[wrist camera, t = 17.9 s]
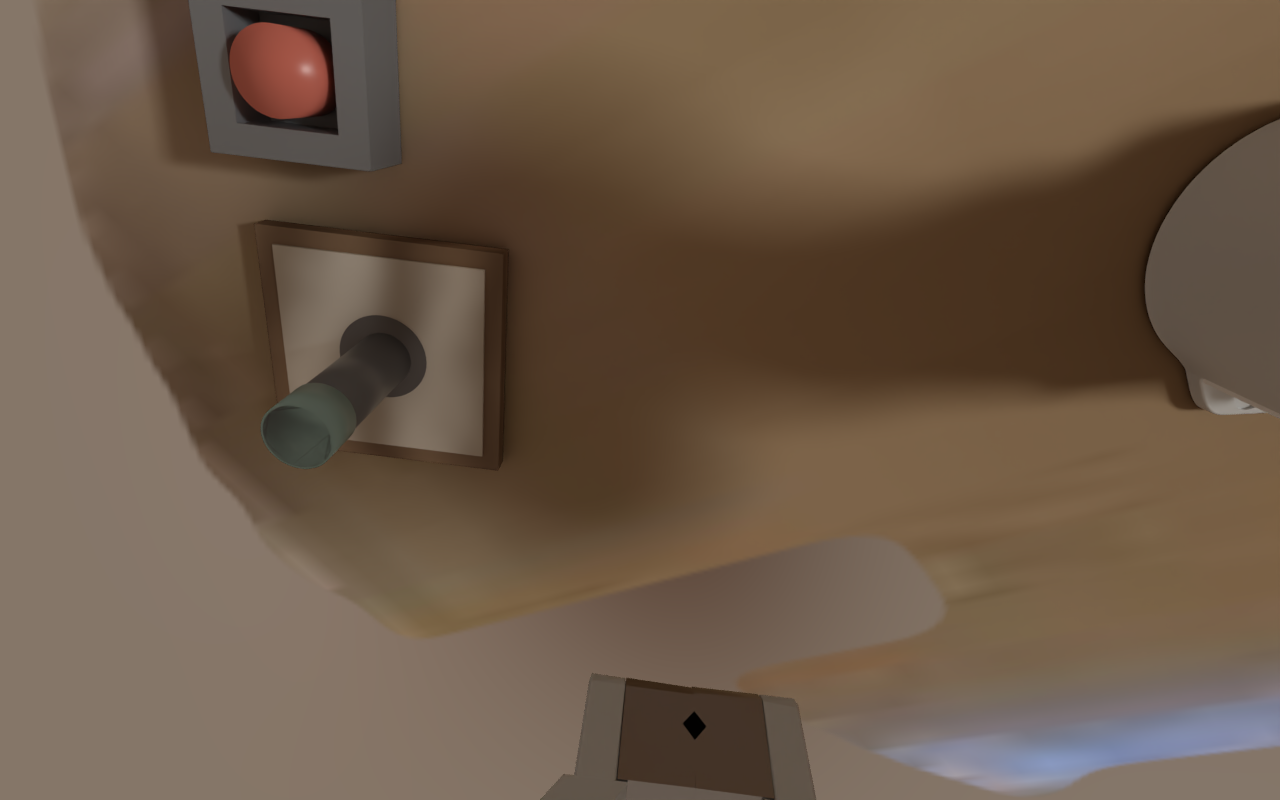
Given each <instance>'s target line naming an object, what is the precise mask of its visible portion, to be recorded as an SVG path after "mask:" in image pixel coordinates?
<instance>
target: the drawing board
mask: <svg viewBox="0 0 1280 800" xmlns="http://www.w3.org/2000/svg"><path fill="white" fill-rule="evenodd" d="M254 227H255V235H256V243H257V250H258V258H259V266H260V274H261V281H262V289H263V297H264V305H265V312H266V320H267V328H268V336H269V343H270V351H271V359H272V367H273V374H274V382H275V390H276V398H277V403H279V402H280V401H281V400H283V399H284V398H285V397H286V396H288V395H289V394H290V393H292V392H293V391H294V390H295V389H297V388H298V387H300V386H302V385H304V384H307V383H308V382H309V381H310V380H312V379H313V378H314V377H316V376H317V375H318V374H319V373H321V372H322V371H323V370H324V369H326V368H327V367H328V366H330V365H331V364H332V363H333V362H335V361H336V360H337V359H339V358H340V357H341V356H342V355H344V354H345V353H346V352H347V351H349V350H350V349H351V348H353V347H354V346H355V345H356V344H358V343H359V342H360V341H362V340H363V339H364V338H365V337H367V336H369V335H371V334H375V333H384V334H388V335H391V336H393V337H395V338H397V339H398V340H399V341H401V342H402V343H403V344H404V346H405V347H406V348H407V350H408V352H409V355H410V359H411V366H410V370H409V372H408V374H407V375H406V377H405V378H404V379H403V380H402V381H401V382H400V383H399V384H398V385H397V386H396V387H395V388H394V389H393V390H392V391H391V392H390V393H389V394H388V395H387V396H386V397H385V398H384V399H383V400H382V401H381V402H380V404H379V405H378V406H377V407H376V408H375V409H374V410H373V411H372V412H371V413H370V414H369V415H368V416H367V417H366V418H365V419H364V420H363V421H362V422H361V423H360V424H359V425H358V426H357V427H356V428H355V430H354V432H353V434H352V435H351V436H350V438H349V439H348V440H347V441H346V442H345V443H344V444H343V445H342V446H341V447H340V448H339V449H338V451H346V452H354V453H362V454H370V455H378V456H386V457H394V458H402V459H410V460H418V461H426V462H434V463H442V464H450V465H458V466H466V467H474V468H482V469H490V470H499V468H500V466H501V464H502V462H503V430H504V393H505V356H506V319H507V282H508V249H500V248H492V247H484V246H476V245H467V244H459V243H451V242H443V241H435V240H426V239H418V238H410V237H402V236H394V235H385V234H377V233H369V232H361V231H353V230H345V229H336V228H328V227H320V226H312V225H304V224H295V223H287V222H279V221H271V220H264V221H261V222H258V223H255V224H254Z"/></svg>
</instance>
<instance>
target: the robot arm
mask: <svg viewBox="0 0 1280 800" xmlns="http://www.w3.org/2000/svg"><path fill="white" fill-rule="evenodd" d="M1145 300H1146V306H1147V311H1148V315H1149V318H1150V321H1151V323H1152V326H1153V328H1154V330H1155V332H1156V334H1157V335H1158V337H1159V338H1160V340H1161V341H1162V342H1163V344H1164V345H1165V346H1166V347H1167V348H1168V349H1169V350H1170V351H1171V352H1172V353H1173V354H1174V356H1175V357H1176V358H1177V359H1178V360H1179V361H1180V362H1181V363H1182V365H1183V366H1184V368H1185V370H1186V374H1187V380H1188V385H1189V389H1190V393H1191V396H1192V398H1193V401H1194V402H1195V404H1196V405H1197V406H1198V407H1200V408H1202V409H1204V410H1207V411H1209V412H1211V413H1214V414H1218V415H1232V414H1252V413H1268V414H1271V415H1273V416H1275V417H1277V418H1279V419H1280V119H1279V120H1276V121H1274V122H1272V123H1270V124H1267V125H1265V126H1264V127H1262V128H1260V129H1258V130H1256V131H1254V132H1252V133H1251V134H1249V135H1247V136H1246V137H1244V138H1242V139H1241V140H1239V141H1238V142H1236V143H1235V144H1233V145H1232V146H1231V147H1229V148H1228V149H1227V150H1225V151H1224V152H1223V153H1221V154H1220V155H1219V156H1218V157H1217V158H1215V159H1214V160H1213V161H1212V162H1211V163H1210V164H1209V165H1207V166H1206V167H1205V168H1204V169H1203V170H1202V171H1201V172H1200V173H1199V174H1198V175H1197V176H1196V177H1195V178H1194V179H1193V181H1192V182H1191V183H1190V184H1189V185H1188V186H1187V187H1186V189H1185V190H1184V191H1183V192H1182V194H1181V195H1180V196H1179V198H1178V199H1177V201H1176V202H1175V203H1174V205H1173V206H1172V208H1171V209H1170V211H1169V213H1168V214H1167V216H1166V218H1165V219H1164V221H1163V223H1162V225H1161V227H1160V229H1159V231H1158V233H1157V236H1156V238H1155V241H1154V243H1153V246H1152V249H1151V252H1150V256H1149V260H1148V264H1147V269H1146V277H1145ZM540 800H816V796H815V790H814V785H813V780H812V775H811V770H810V764H809V760H808V754H807V749H806V744H805V739H804V733H803V728H802V723H801V718H800V713H799V707H798V704H797V703H796V701H795V700H794V699H792V698H783V697H775V696H766V695H758V694H752V693H743V692H734V691H725V690H716V689H707V688H698V687H692V688H691V687H684V686H678V685H671V684H665V683H658V682H651V681H645V680H638V679H632V678H626V682H625V678H621V677H615V676H608V675H601V674H594V673H592V674H591V677H590V681H589V685H588V691H587V698H586V704H585V710H584V717H583V723H582V730H581V736H580V742H579V748H578V755H577V762H576V767H575V773H574V775H567V774H563V776H562V777H561V778H560V779H559V780H558V781H557V782H556V783H555V784H554V785H553V786H552V787H551V788H550V790H549V791H548V792H547V793H546V794H545V795H544V796H543V797H542V798H541V799H540Z"/></svg>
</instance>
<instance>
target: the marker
mask: <svg viewBox="0 0 1280 800" xmlns="http://www.w3.org/2000/svg"><path fill="white" fill-rule="evenodd" d="M410 366H411V359H410V355H409V352H408V350H407V348H406V347H405V346H404V344H403V343H402V342H401V341H399V340H398V339H397V338H395V337H393V336H391V335H388V334H384V333H375V334H371V335H369V336H367V337H365V338H364V339H363V340H362V341H360V342H359V343H358V344H356V345H355V346H354V347H353V348H351V349H350V350H349V351H347V352H346V353H345V354H344V355H342V356H341V357H340V358H339V359H337V360H336V361H335V362H333V363H332V364H331V365H330V366H328V367H327V368H326V369H324V370H323V371H322V372H321V373H319V374H318V375H317V376H316V377H314V378H313V379H312V380H310V381H309V382H308V383H307V384H304V385H302V386H300V387H298V388H297V389H295V390H294V391H293V392H292V393H290V394H289V395H288V396H286V397H285V398H284V399H283V400H281V401H280V402H279V403H277V404H276V405H275V406H273V407H272V408H271V409H270V410H268V411H267V412H266V414H265V415H264V417H263V419H262V422H261V435H262V438H263V441H264V443H265V445H266V447H267V448H268V450H269V451H270V452H271V453H272V454H273V455H274V456H275V457H276V458H277V459H279V460H280V461H282V462H283V463H285V464H287V465H290V466H292V467H296V468H301V469H311V468H316V467H319V466H321V465H323V464H324V463H325V462H326V461H327V460H328V459H329V458H330V457H331V456H332V455H333V454H334V453H335V452H336V451H337V450H338V449H339V448H340V447H341V446H342V445H343V444H344V443H345V442H346V441H347V440H348V439H349V438H350V436H351V435H352V434H353V432H354V430H355V428H356V427H357V426H358V425H359V424H360V423H361V422H362V421H363V420H364V419H365V418H366V417H367V416H368V415H369V414H370V413H371V412H372V411H373V410H374V409H375V408H376V407H377V406H378V405H379V404H380V402H381V401H382V400H383V399H384V398H385V397H386V396H387V395H388V394H389V393H390V392H391V391H392V390H393V389H394V388H395V387H396V386H397V385H398V384H399V383H400V382H401V381H402V380H403V379H404V378H405V377H406V375H407V374H408V372H409V370H410Z"/></svg>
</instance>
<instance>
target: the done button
mask: <svg viewBox="0 0 1280 800" xmlns="http://www.w3.org/2000/svg"><path fill="white" fill-rule="evenodd" d="M229 62H230V70H231V75H232V78H233V81H234V83H235V85H236V87H237V89H238V91H239V93H240V94H241V95H242V97H243V98H244V99H245V100H246V102H247V103H248V104H249V105H250V106H252V107H253V108H254V109H255V110H257V111H258V112H260V113H262V114H264V115H266V116H268V117H271V118H276V119H292V118H305V117H318V116H323V115H326V114H328V113H330V112H331V111H333V110H334V109H335V108H336V93H335V80H334V66H333V53H332V45H331V44H330V43H329V42H328V41H327V40H326V39H325V38H324V37H322V36H321V35H319V34H318V33H316V32H314V31H311V30H308V29H304V28H298V27H292V26H286V25H280V24H273V23H266V22H260V23H254V24H251V25H249V26H247V27H245V28H244V29H242V30H241V31H240V32H239V33H238V35H237V36H236V37H235V39H234V41H233V43H232V46H231V50H230V59H229Z"/></svg>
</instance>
